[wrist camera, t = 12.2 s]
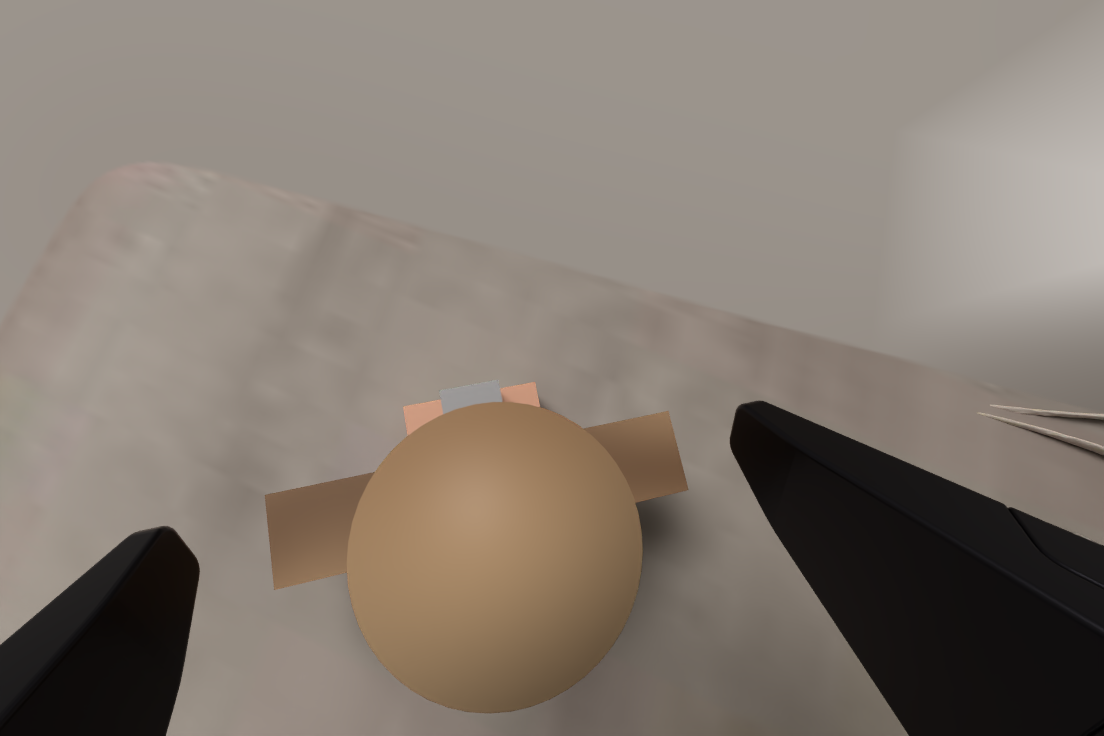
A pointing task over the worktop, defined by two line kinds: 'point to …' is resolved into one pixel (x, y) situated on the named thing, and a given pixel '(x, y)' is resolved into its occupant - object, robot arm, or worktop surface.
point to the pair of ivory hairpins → (1066, 438)
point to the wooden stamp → (486, 548)
